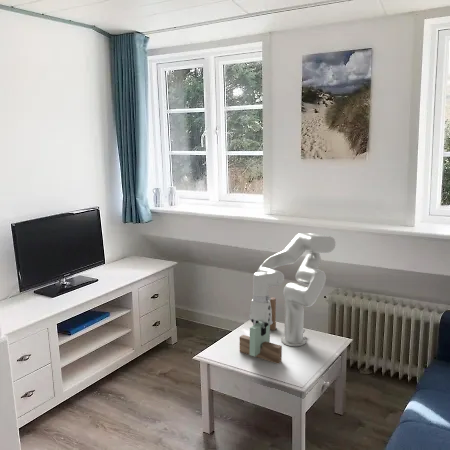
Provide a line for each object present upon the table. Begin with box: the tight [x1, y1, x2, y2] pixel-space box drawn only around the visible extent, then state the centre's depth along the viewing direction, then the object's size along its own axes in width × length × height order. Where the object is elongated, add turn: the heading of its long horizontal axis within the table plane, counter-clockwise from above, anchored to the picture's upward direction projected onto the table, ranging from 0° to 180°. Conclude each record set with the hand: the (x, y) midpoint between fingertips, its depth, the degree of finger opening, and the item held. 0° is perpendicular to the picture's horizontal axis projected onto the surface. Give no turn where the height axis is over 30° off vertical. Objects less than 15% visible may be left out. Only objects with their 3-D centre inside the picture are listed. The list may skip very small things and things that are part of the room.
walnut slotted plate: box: [239, 334, 283, 365], centre depth 232 cm, size 3×22×8 cm, turn 55°
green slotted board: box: [249, 321, 271, 358], centre depth 230 cm, size 14×3×14 cm, turn 145°
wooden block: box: [258, 296, 277, 331], centre depth 262 cm, size 4×11×18 cm, turn 80°
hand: (260, 333), depth 230 cm, fingers closed on green slotted board, 3 cm apart
